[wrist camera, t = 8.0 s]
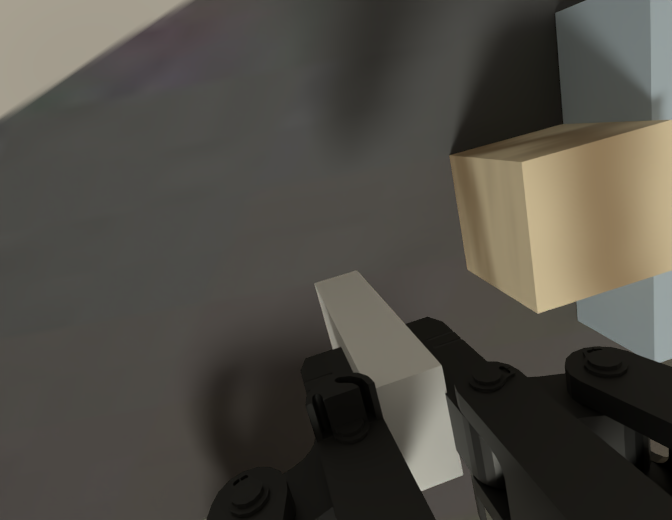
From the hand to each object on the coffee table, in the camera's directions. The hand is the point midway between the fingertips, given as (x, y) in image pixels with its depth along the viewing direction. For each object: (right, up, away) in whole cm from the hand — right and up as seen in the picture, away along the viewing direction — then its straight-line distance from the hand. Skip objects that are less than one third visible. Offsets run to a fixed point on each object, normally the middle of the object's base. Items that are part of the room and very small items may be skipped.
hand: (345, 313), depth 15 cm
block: (+9, +5, +7) cm, 12 cm away
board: (+13, +6, +8) cm, 16 cm away
